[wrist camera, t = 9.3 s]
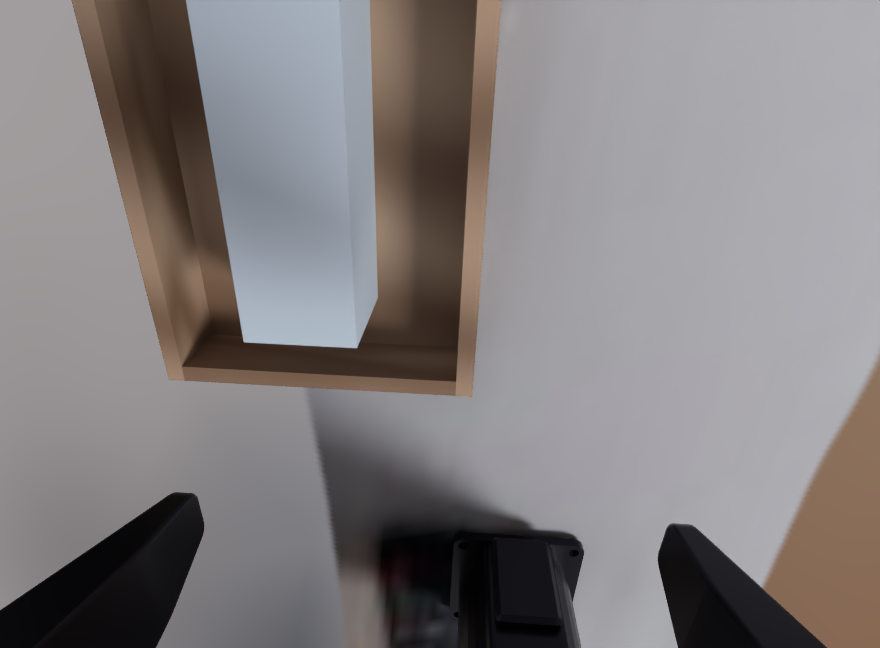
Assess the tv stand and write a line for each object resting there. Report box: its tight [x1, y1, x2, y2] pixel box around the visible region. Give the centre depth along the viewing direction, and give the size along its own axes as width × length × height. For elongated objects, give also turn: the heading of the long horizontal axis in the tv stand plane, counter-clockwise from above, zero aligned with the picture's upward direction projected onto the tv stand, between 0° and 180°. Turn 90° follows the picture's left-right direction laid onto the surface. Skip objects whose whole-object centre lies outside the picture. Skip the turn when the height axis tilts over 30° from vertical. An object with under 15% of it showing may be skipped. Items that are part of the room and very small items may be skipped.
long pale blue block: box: [186, 0, 378, 348], centre depth 14 cm, size 13×4×4 cm, turn 178°
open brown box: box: [72, 0, 501, 397], centre depth 15 cm, size 17×11×3 cm, turn 178°
